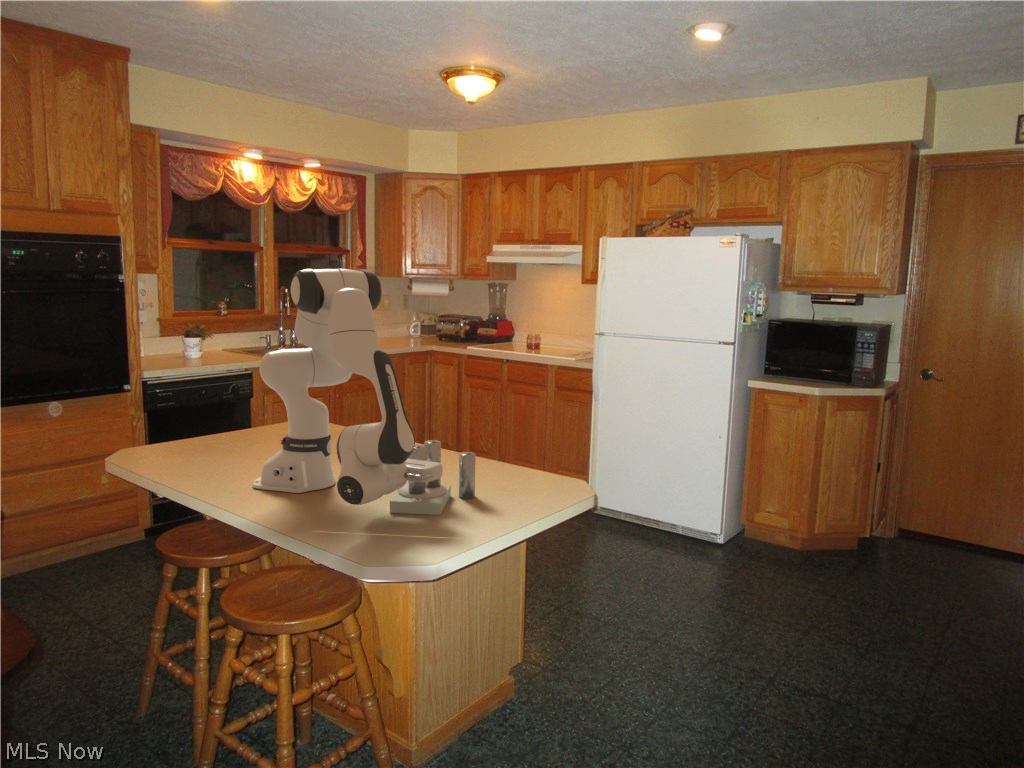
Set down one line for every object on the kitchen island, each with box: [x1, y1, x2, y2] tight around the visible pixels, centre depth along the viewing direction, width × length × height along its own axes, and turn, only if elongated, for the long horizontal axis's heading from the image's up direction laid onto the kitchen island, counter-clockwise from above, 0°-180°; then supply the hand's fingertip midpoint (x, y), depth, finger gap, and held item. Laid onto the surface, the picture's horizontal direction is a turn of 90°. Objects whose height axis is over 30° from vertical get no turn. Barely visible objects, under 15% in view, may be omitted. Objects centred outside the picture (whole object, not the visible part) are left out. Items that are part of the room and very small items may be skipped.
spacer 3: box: [458, 451, 477, 500], centre depth 193 cm, size 4×4×12 cm
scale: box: [389, 482, 452, 516], centre depth 187 cm, size 13×16×4 cm
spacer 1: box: [408, 444, 426, 495], centre depth 185 cm, size 4×4×12 cm
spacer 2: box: [423, 439, 442, 488], centre depth 191 cm, size 4×4×12 cm
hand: (419, 460), depth 185 cm, fingers closed on spacer 1, 4 cm apart
